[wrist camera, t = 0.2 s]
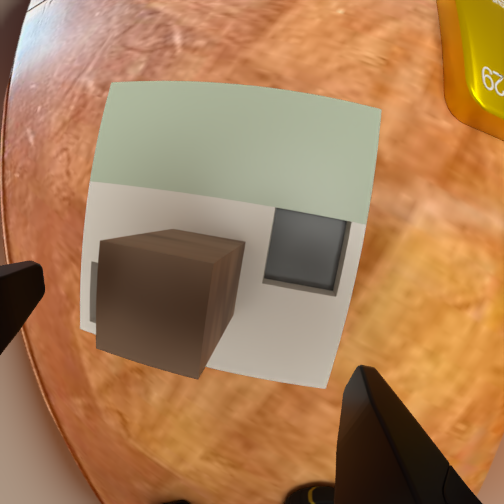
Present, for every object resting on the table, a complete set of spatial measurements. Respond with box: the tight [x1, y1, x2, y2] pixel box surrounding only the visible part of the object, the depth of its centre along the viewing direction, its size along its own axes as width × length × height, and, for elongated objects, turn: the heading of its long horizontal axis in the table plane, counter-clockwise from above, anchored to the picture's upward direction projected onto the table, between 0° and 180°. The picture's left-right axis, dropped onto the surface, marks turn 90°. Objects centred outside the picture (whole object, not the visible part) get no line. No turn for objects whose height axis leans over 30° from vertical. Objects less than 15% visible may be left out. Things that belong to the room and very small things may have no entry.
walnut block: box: [96, 229, 246, 379], centre depth 17 cm, size 5×5×9 cm
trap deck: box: [80, 81, 381, 389], centre depth 22 cm, size 20×20×2 cm
